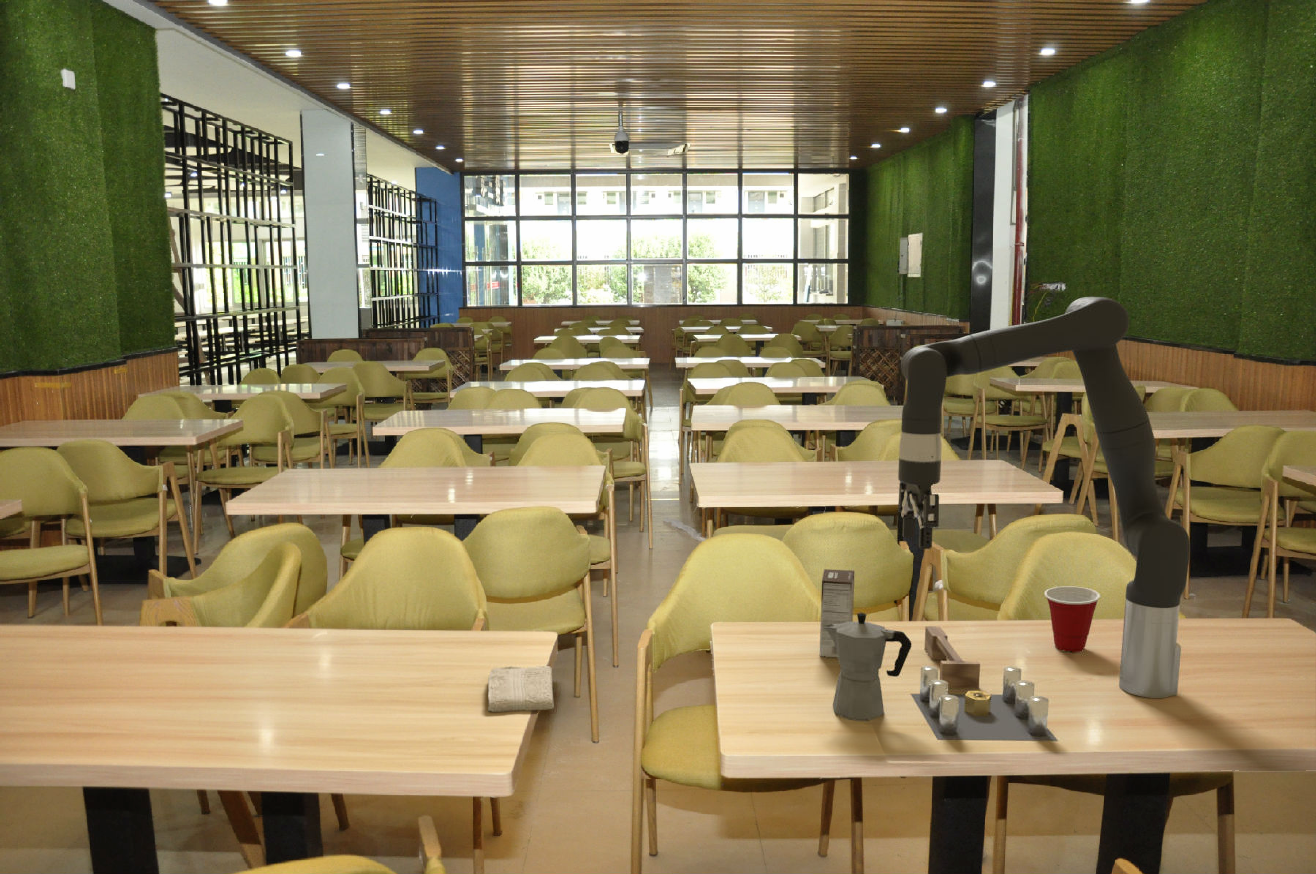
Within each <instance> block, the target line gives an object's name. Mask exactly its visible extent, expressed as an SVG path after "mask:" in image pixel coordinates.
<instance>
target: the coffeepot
mask: <svg viewBox="0 0 1316 874" xmlns="http://www.w3.org/2000/svg"><path fill="white" fill-rule="evenodd" d="M856 616H857V621H853V622H845V623H842V624H831V625H827V626H826V627H825V628H824V629H825V630H827V631H828V633H829V634H830V636H831V638H832V640H833V642H834V644H835V645H836V647H837V650H838V657H837V659H838V664H839V666H840V671H839V672H840V673H839V674H838V678H837V682H836V687H835V693H834V696H833V702H832V707H833V711H834V713H835V714H836V715H837V716H840V717H841V718H844V719H848V720H852V721H858V722H859V721H860V722H861V721H862V722H866V721H869V720H873V719H876V718H879V717H880V716H882V715H884V714H885V709H884V708H885V707H884V701H883V693H882V687H881V685H882V684H881V679H880V676H879V672H880V671H879V670H880V669H882V665H883V659H884V656H885V655H884V654H885V650H886V643H887V642H889V643H891V642H892V643H894V642H896V643H897V642H898V643H900V645H901V646H899V647H900V648H899V650H898V655H897V658H896V660H895V661H894V669H893V670H888V669H886V674H887V676H888V677H897V678H898V677H899V676H900V674H901V672H902V669H903V667H904V664H905V662H906V660H907V658H908V656H909V653H910V651H911V650H912V641H911V640H910V639H909V637H908V636H907V634H906V633H905V632H904V631H899V630H893V629H889V628H888V629H887V628H886V627H885V626H883V625H880V624H876V623H872V622H869V621H866V618H867V613H866V612H858V613H857V614H856Z"/></svg>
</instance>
